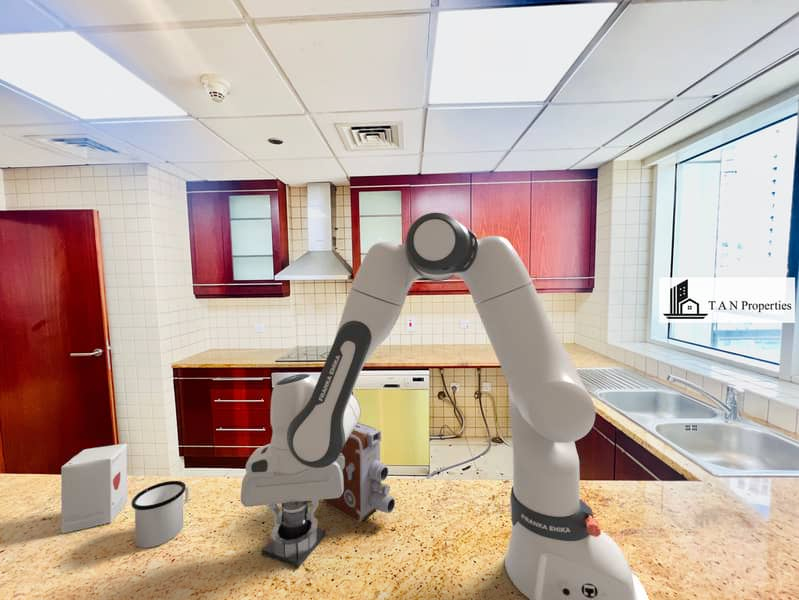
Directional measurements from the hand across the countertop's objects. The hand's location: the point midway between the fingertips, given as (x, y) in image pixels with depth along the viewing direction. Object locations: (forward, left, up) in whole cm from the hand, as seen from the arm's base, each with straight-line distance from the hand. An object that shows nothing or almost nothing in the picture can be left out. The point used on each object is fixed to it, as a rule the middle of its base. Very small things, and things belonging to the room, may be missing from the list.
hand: (295, 520), depth 65 cm
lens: (0, 0, -3) cm, 3 cm away
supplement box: (+50, +10, -5) cm, 51 cm away
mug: (+30, +7, -5) cm, 31 cm away
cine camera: (-7, -14, -5) cm, 16 cm away
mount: (0, 0, -5) cm, 5 cm away
